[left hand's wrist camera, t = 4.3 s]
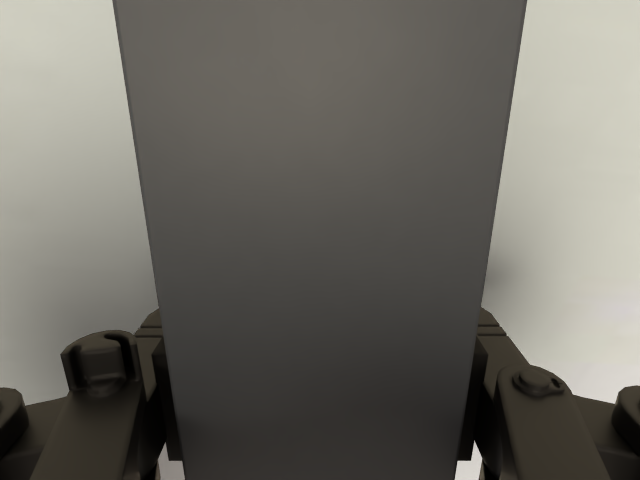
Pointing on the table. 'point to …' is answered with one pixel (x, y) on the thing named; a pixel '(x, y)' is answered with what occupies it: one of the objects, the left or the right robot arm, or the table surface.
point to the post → (319, 222)
